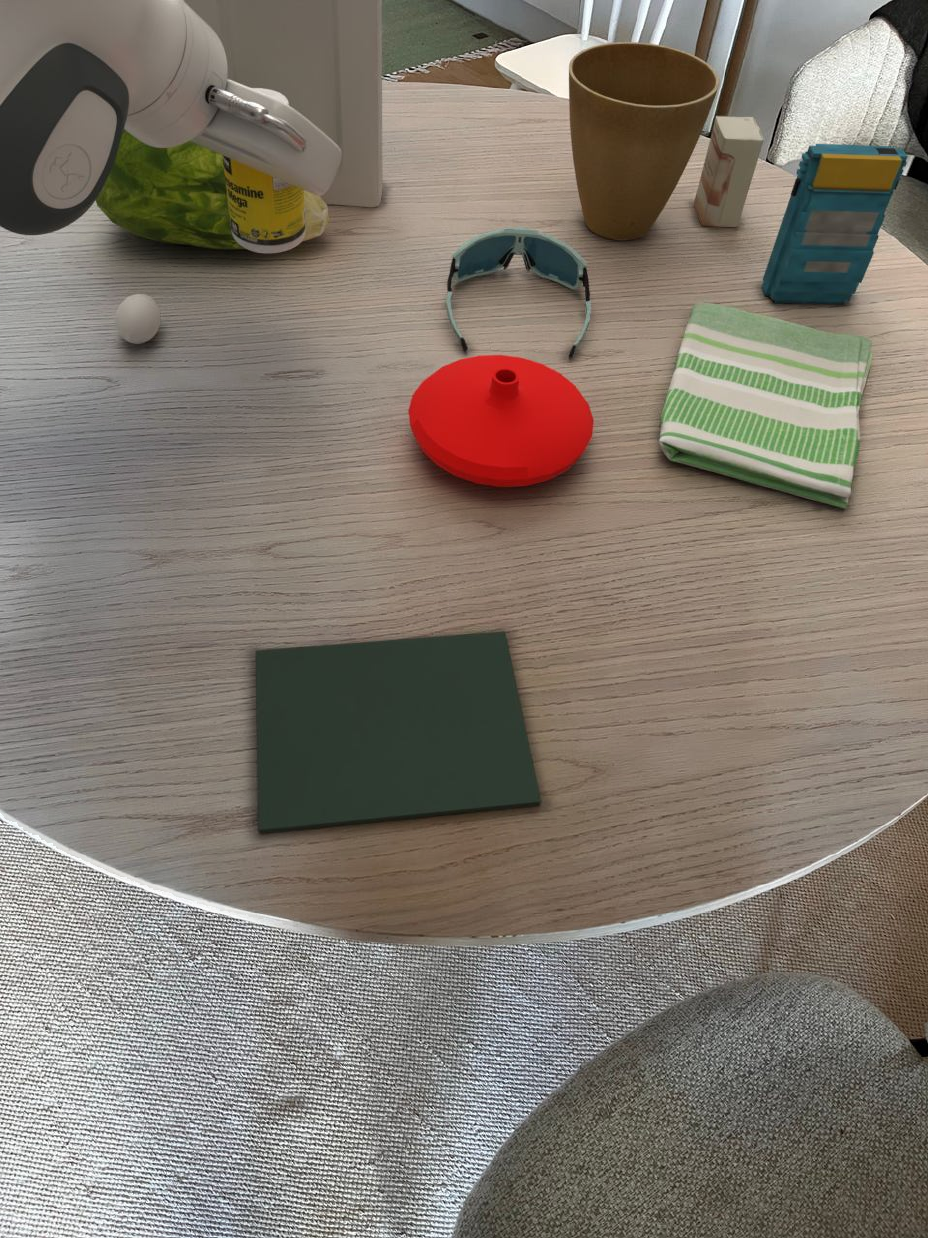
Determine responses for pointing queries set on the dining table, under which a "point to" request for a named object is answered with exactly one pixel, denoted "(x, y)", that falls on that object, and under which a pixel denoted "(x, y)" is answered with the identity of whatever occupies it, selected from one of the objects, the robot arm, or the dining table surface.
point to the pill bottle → (263, 205)
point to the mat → (389, 732)
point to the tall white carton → (314, 74)
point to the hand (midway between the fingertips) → (268, 162)
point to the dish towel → (767, 402)
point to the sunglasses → (538, 255)
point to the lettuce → (180, 196)
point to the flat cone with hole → (500, 420)
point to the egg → (138, 318)
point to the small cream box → (728, 170)
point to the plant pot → (634, 130)
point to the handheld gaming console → (832, 222)
